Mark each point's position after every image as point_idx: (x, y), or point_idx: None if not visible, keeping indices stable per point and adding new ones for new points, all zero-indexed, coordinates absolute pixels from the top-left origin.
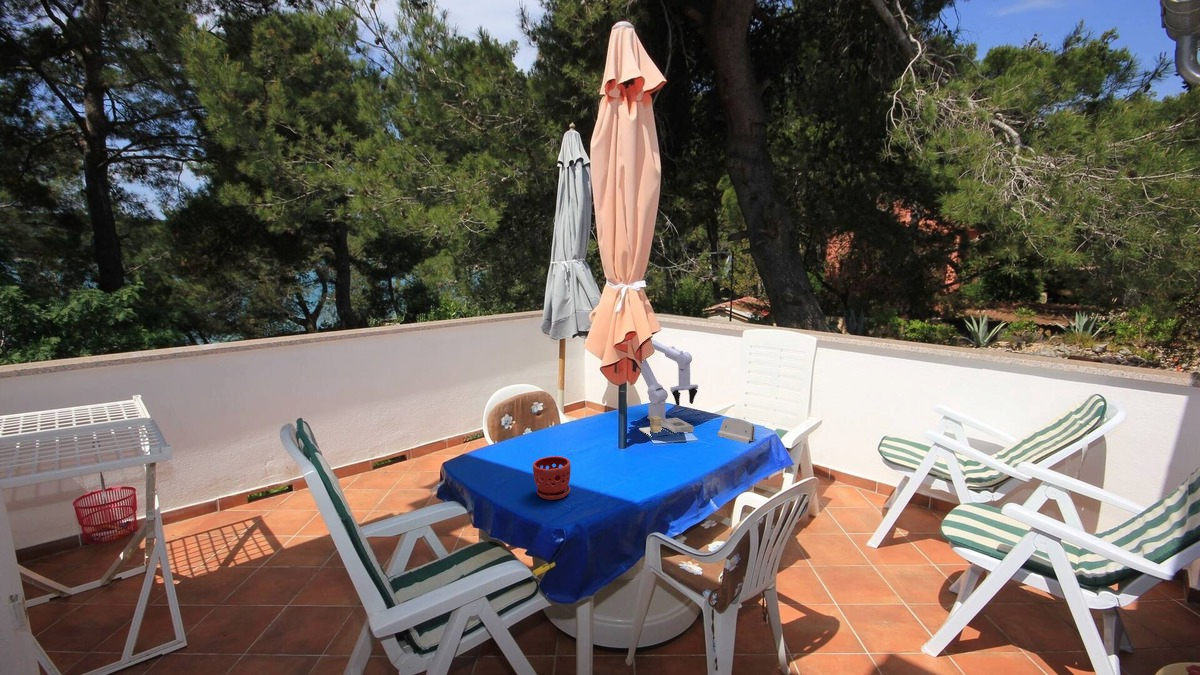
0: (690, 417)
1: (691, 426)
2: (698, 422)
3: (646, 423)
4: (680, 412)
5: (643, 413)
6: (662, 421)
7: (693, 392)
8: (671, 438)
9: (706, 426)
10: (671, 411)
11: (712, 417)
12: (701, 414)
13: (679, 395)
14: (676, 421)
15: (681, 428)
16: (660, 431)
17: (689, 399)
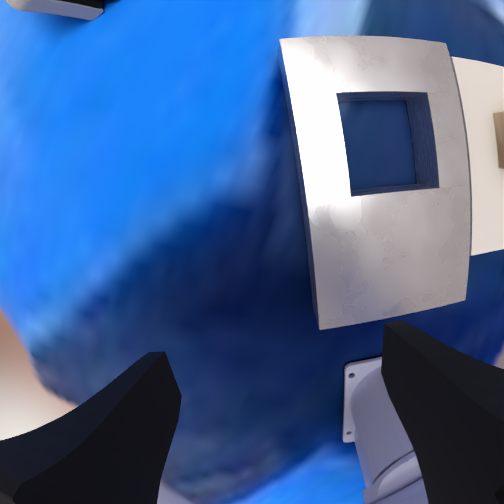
0: None
1: (299, 38)
2: (148, 288)
3: (475, 337)
4: (205, 464)
5: None
6: (468, 251)
7: (46, 471)
8: (452, 13)
9: (122, 179)
10: (245, 481)
11: (56, 350)
12: None
13: (497, 407)
14: (377, 218)
15: (392, 39)
16: (501, 112)
17: (171, 436)
